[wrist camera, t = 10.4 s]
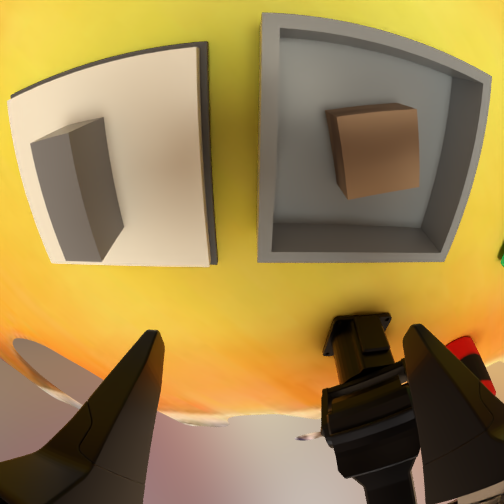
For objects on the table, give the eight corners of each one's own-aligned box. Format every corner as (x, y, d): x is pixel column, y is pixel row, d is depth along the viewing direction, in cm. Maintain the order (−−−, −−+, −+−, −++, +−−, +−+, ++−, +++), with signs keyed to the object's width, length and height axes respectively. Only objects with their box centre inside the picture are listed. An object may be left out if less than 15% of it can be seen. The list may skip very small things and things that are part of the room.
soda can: (449, 364, 36) (471, 421, 26) (423, 365, 35) (445, 431, 25) (478, 335, 31) (506, 396, 22) (454, 334, 30) (484, 404, 21)
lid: (210, 258, 21) (202, 307, 17) (56, 256, 21) (30, 293, 17) (199, 48, 13) (178, 38, 9) (15, 98, 12) (-30, 115, 8)
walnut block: (402, 172, 17) (419, 187, 15) (336, 183, 18) (347, 200, 16) (397, 102, 14) (416, 109, 12) (324, 110, 15) (336, 116, 13)
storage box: (421, 232, 21) (444, 261, 17) (256, 228, 20) (257, 262, 17) (455, 69, 12) (491, 76, 9) (259, 26, 12) (262, 12, 9)
